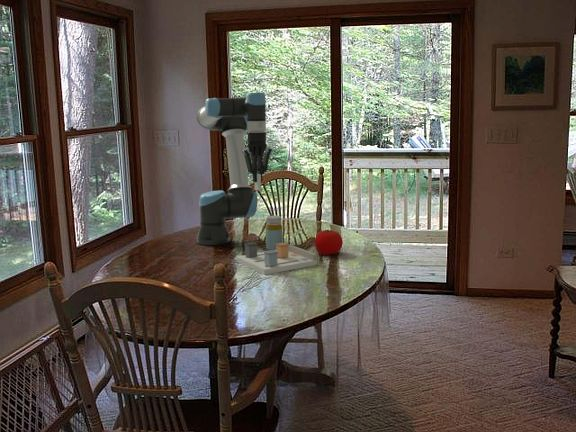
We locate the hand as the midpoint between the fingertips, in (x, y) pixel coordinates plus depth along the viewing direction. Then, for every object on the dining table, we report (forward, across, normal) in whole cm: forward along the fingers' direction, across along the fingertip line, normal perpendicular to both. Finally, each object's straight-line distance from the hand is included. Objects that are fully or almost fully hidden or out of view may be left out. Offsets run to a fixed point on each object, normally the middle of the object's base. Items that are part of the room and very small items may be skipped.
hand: (257, 189), depth 245 cm
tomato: (+29, +27, -12) cm, 41 cm away
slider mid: (+26, +4, -12) cm, 29 cm away
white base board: (+28, +1, -12) cm, 31 cm away
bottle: (+29, +11, +6) cm, 31 cm away
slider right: (+26, -6, -20) cm, 33 cm away
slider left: (+26, -6, -4) cm, 27 cm away
